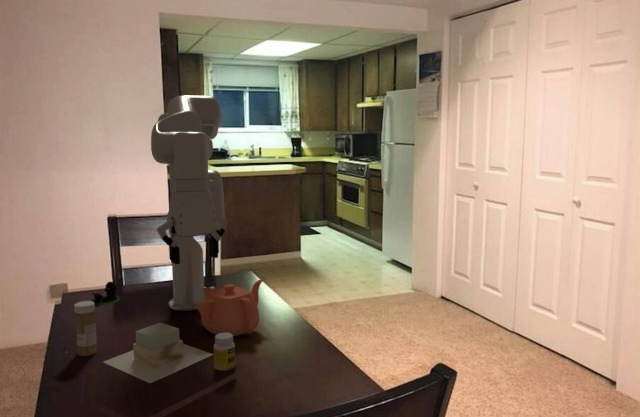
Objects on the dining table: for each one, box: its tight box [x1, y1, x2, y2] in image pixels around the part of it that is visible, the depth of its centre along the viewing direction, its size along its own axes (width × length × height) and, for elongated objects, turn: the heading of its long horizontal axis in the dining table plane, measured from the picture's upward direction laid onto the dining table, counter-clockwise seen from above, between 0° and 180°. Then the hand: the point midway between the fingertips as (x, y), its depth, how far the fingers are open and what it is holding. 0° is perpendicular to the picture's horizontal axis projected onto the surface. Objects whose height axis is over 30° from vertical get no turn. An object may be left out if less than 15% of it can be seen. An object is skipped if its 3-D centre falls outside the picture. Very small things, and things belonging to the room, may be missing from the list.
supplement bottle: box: [213, 333, 236, 372], centre depth 120 cm, size 5×5×8 cm
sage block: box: [135, 322, 181, 350], centre depth 124 cm, size 7×7×3 cm
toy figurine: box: [90, 281, 121, 306], centre depth 171 cm, size 10×10×6 cm
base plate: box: [102, 343, 214, 384], centre depth 125 cm, size 18×18×1 cm
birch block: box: [132, 339, 184, 369], centre depth 125 cm, size 8×8×4 cm
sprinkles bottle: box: [73, 300, 98, 357], centre depth 127 cm, size 5×5×13 cm
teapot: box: [197, 278, 264, 338], centre depth 142 cm, size 16×17×14 cm
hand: (195, 260), depth 122 cm, fingers open, 9 cm apart
